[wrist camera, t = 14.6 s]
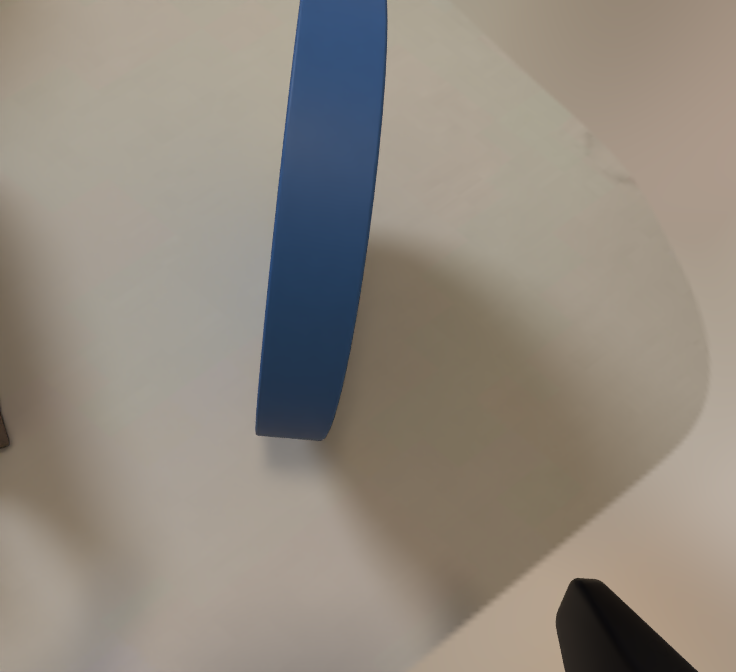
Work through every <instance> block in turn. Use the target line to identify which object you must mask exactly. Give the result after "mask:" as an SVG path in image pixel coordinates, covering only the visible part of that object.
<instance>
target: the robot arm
mask: <svg viewBox="0 0 736 672" xmlns="http://www.w3.org/2000/svg"><path fill="white" fill-rule="evenodd" d="M556 629H557V635H558V639H559V644H560V649H561V654H562V659H563V663H564V668H565V672H698V671H697V670H696V669H694V667H692V666H691V665H690V664H689V663H688V662H687V661H686V660H685V659H684V658H683V657H682V656H681V655H680V654H679V653H677V652H676V651H675V650H674V649H673V648H672V647H671V646H670V645H669V644H668V643H667V642H666V641H665V640H664V639H663V638H662V637H660V636H659V635H658V634H657V633H656V632H655V631H654V630H653V629H652V628H651V627H650V626H649V625H648V624H647V623H646V622H645V621H643V620H642V619H641V618H640V617H639V616H638V615H637V614H636V613H635V612H634V611H633V610H632V609H631V608H630V607H629V606H627V605H626V604H625V603H624V602H623V601H622V600H621V599H620V598H619V597H618V596H617V595H616V594H615V593H614V592H613V591H611V590H610V589H609V588H608V587H607V586H606V585H605V584H604V583H603V582H601V581H599V580H596V579H584V578H576V579H574V580H572V581H571V582H570V584H569V586H568V589H567V591H566V593H565V595H564V598H563V600H562V602H561V605H560V607H559V609H558V612H557V616H556Z"/></svg>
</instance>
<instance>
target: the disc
mask: <svg viewBox="0 0 736 672" xmlns="http://www.w3.org/2000/svg"><path fill="white" fill-rule="evenodd" d="M386 55H387V0H300V6H299V13H298V21H297V29H296V37H295V46H294V54H293V62H292V71H291V79H290V88H289V96H288V105H287V114H286V123H285V131H284V140H283V149H282V158H281V168H280V177H279V186H278V195H277V204H276V214H275V223H274V233H273V242H272V252H271V261H270V271H269V281H268V291H267V301H266V311H265V321H264V331H263V342H262V352H261V363H260V374H259V386H258V397H257V410H256V427H255V431H256V435H258V436H269V437H281V438H292V439H304V440H316V441H321V440H323V439H325V438H326V436H327V434H328V432H329V430H330V428H331V425H332V422H333V420H334V417H335V413H336V410H337V406H338V403H339V399H340V395H341V391H342V387H343V382H344V378H345V373H346V369H347V364H348V359H349V354H350V349H351V344H352V338H353V333H354V328H355V322H356V317H357V311H358V304H359V298H360V292H361V286H362V280H363V273H364V266H365V260H366V253H367V246H368V239H369V231H370V224H371V216H372V208H373V200H374V192H375V183H376V174H377V166H378V157H379V147H380V136H381V126H382V115H383V102H384V89H385V75H386Z"/></svg>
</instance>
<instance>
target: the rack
mask: <svg viewBox="0 0 736 672" xmlns="http://www.w3.org/2000/svg"><path fill="white" fill-rule="evenodd" d="M7 445H9V441H8V437H7V434H6V430H5V427H4V424H3V420H2V417H1V414H0V448H2V447H4V446H7Z"/></svg>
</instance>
